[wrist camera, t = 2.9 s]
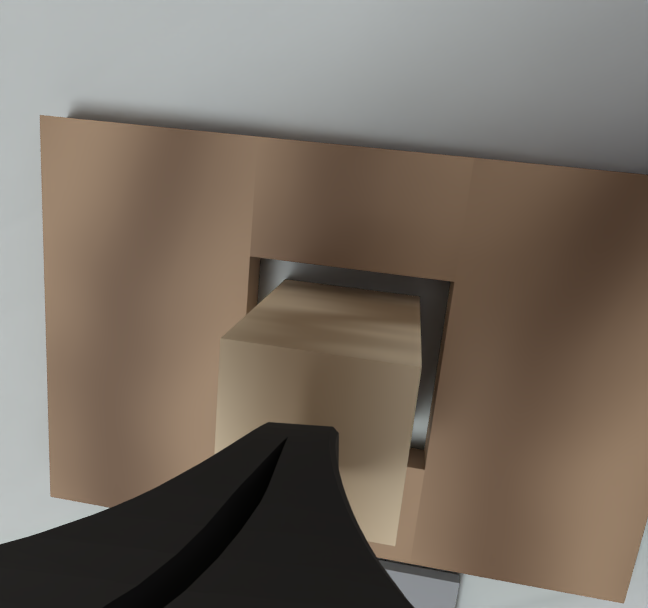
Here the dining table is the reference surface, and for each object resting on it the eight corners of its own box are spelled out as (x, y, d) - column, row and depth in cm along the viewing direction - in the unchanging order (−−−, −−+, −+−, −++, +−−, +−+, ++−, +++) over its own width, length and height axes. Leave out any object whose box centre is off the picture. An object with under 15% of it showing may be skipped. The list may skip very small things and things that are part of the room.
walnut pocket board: (714, 181, 15) (739, 183, 14) (610, 574, 18) (623, 603, 17) (65, 118, 17) (39, 114, 16) (71, 477, 20) (50, 496, 19)
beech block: (419, 296, 17) (421, 367, 11) (402, 421, 18) (394, 546, 12) (285, 278, 17) (220, 338, 11) (275, 401, 18) (211, 512, 12)
